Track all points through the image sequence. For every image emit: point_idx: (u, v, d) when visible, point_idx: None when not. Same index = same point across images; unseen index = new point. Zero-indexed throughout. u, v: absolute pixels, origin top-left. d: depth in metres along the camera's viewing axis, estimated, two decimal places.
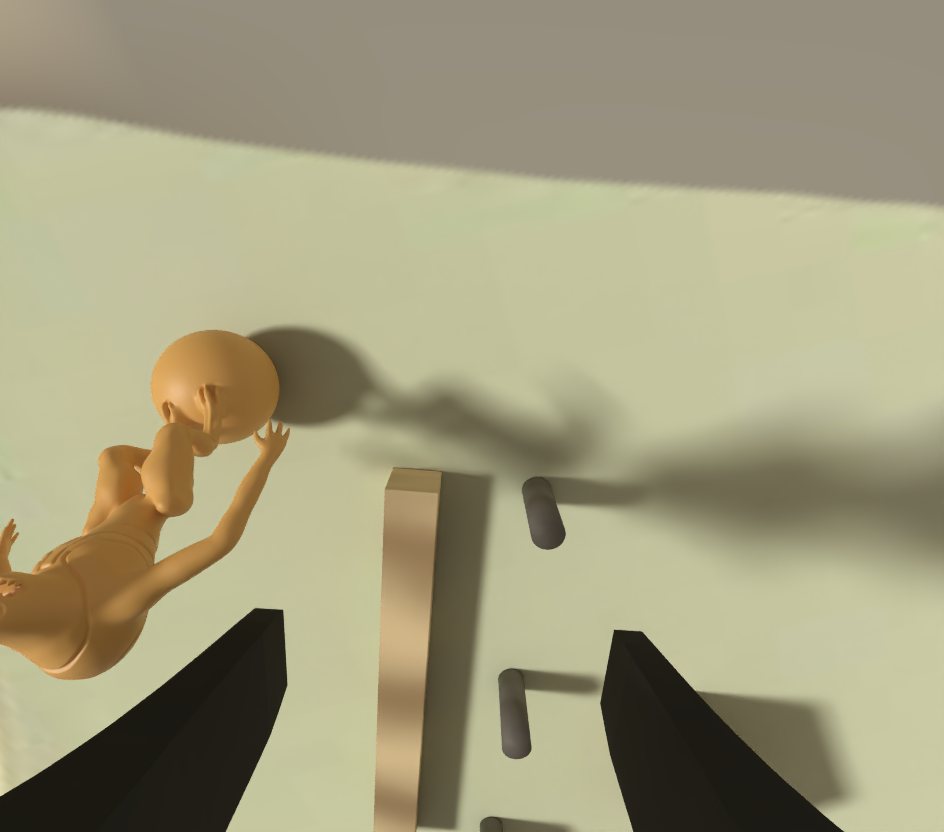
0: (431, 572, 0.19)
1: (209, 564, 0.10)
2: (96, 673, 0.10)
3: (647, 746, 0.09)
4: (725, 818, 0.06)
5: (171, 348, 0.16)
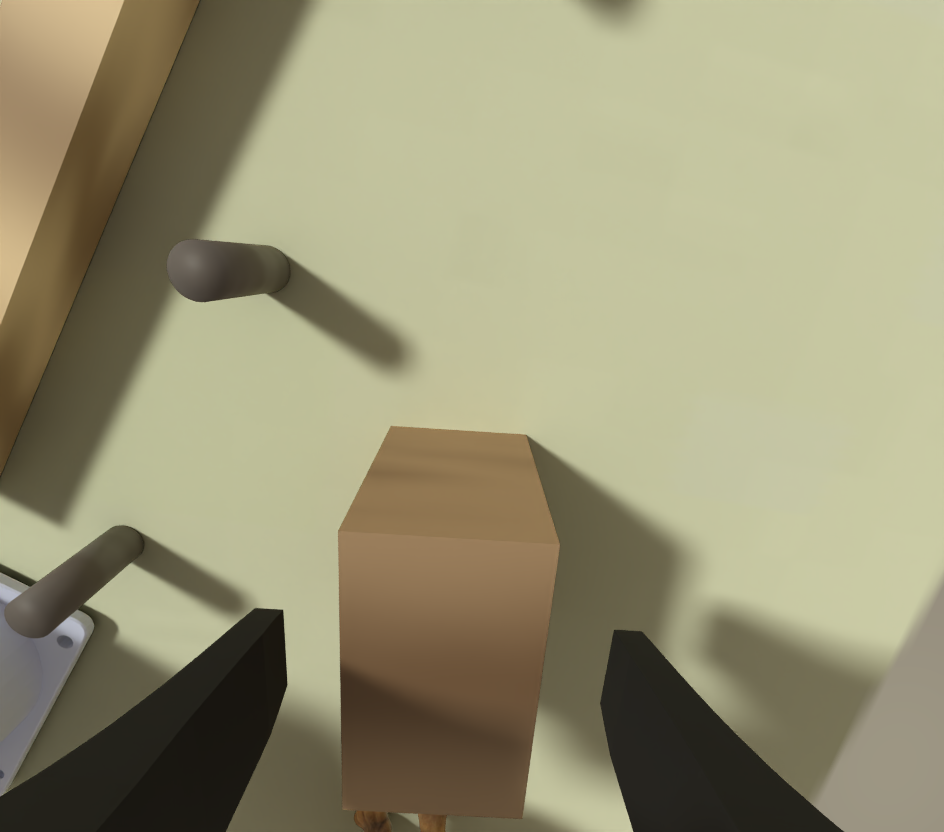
0: None
1: None
2: None
3: (647, 746, 0.09)
4: (725, 818, 0.06)
5: None
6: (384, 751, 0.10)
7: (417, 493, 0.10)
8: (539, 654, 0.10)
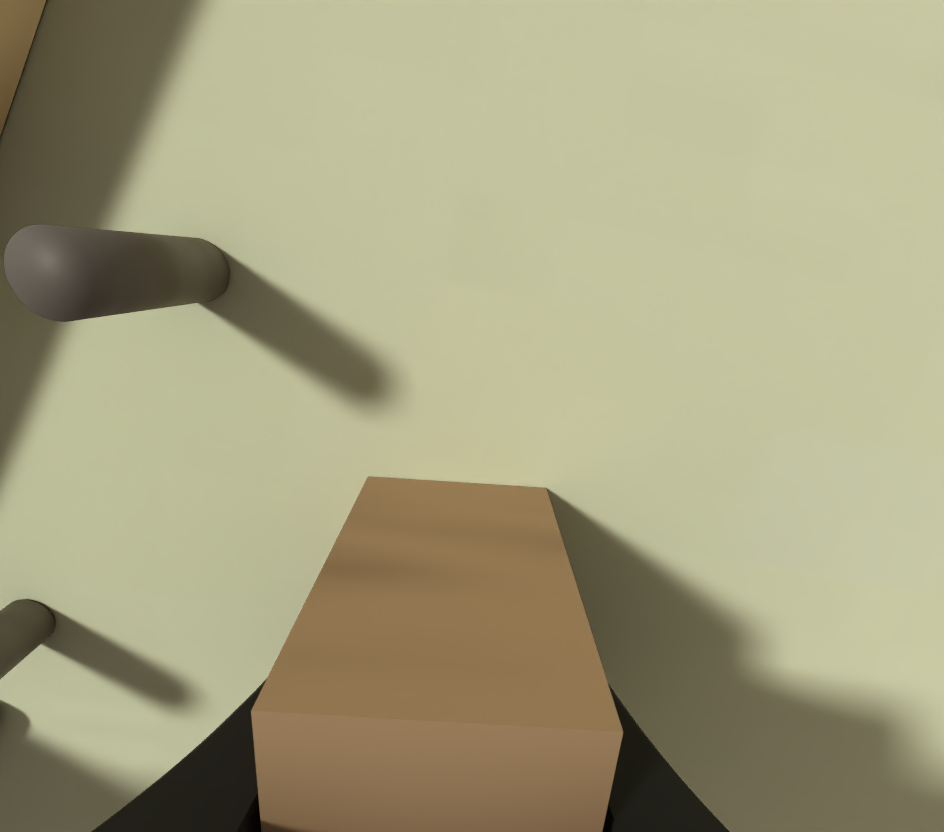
0: None
1: None
2: None
3: None
4: (608, 812, 0.06)
5: None
6: None
7: (393, 611, 0.07)
8: None
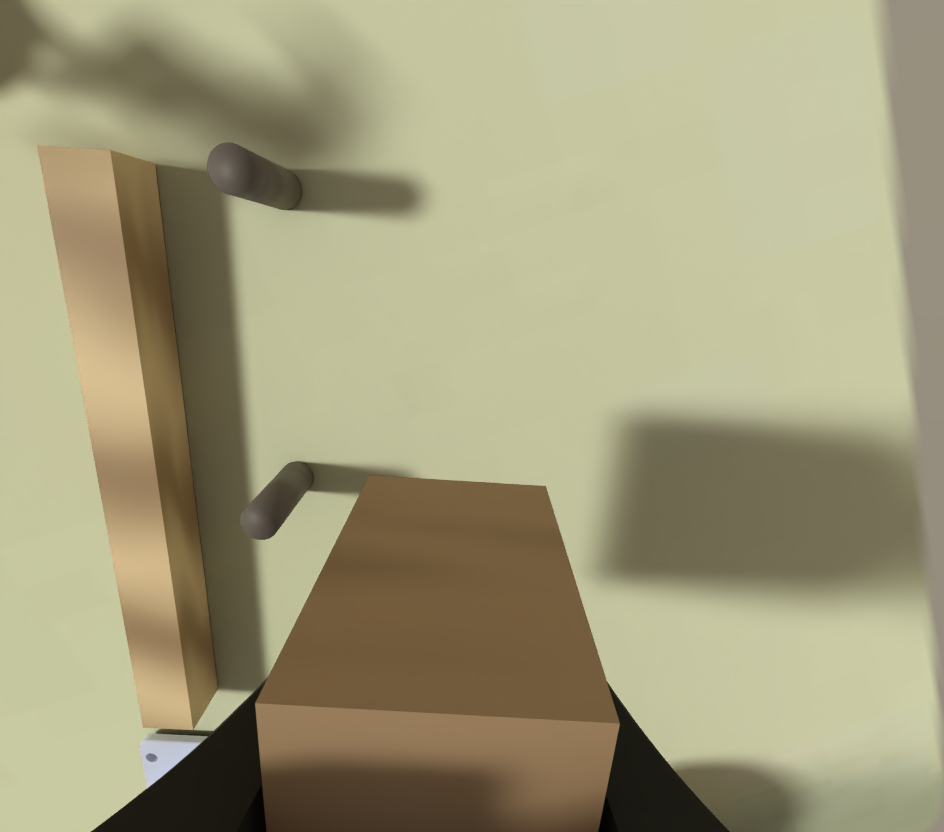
0: (127, 279, 0.15)
1: None
2: None
3: None
4: (608, 812, 0.06)
5: None
6: None
7: (393, 606, 0.07)
8: None
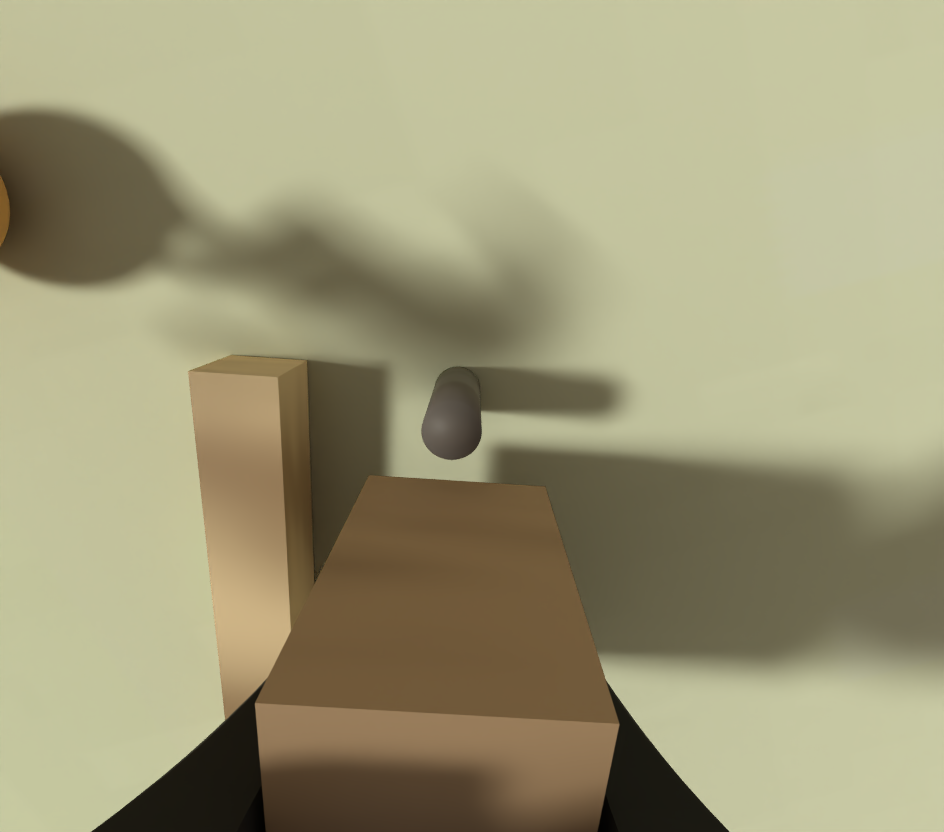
0: (282, 514, 0.12)
1: None
2: None
3: None
4: (608, 812, 0.06)
5: None
6: None
7: (393, 606, 0.07)
8: None
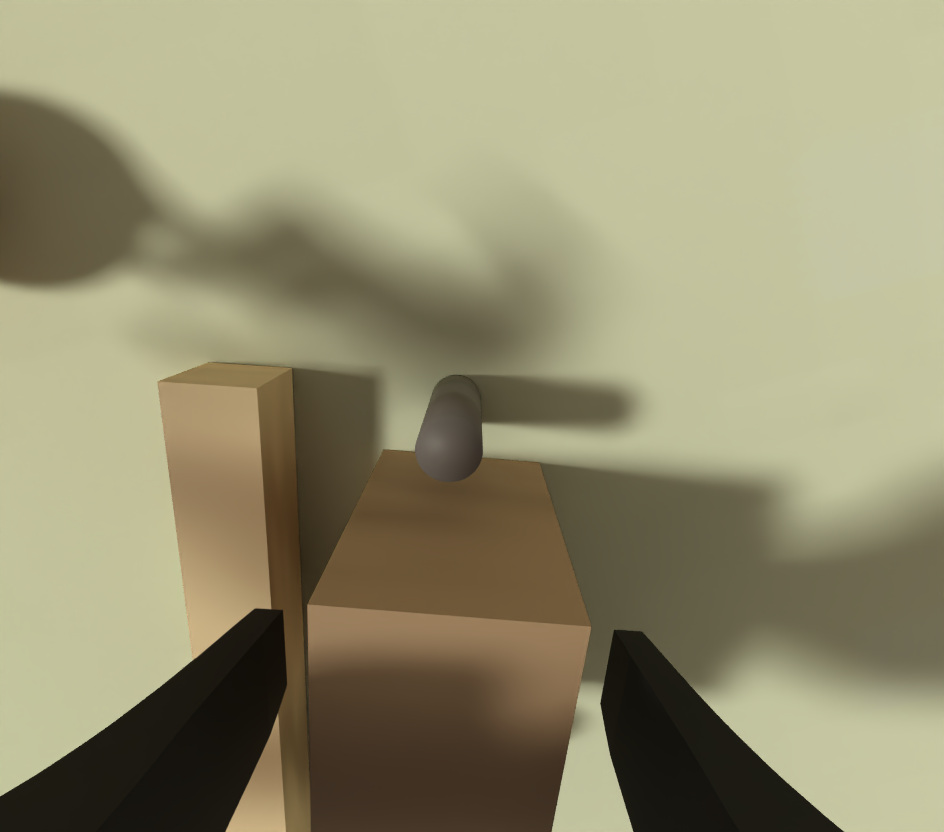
0: (264, 538, 0.11)
1: None
2: None
3: (647, 746, 0.09)
4: (725, 818, 0.06)
5: None
6: None
7: (411, 545, 0.08)
8: (559, 755, 0.08)
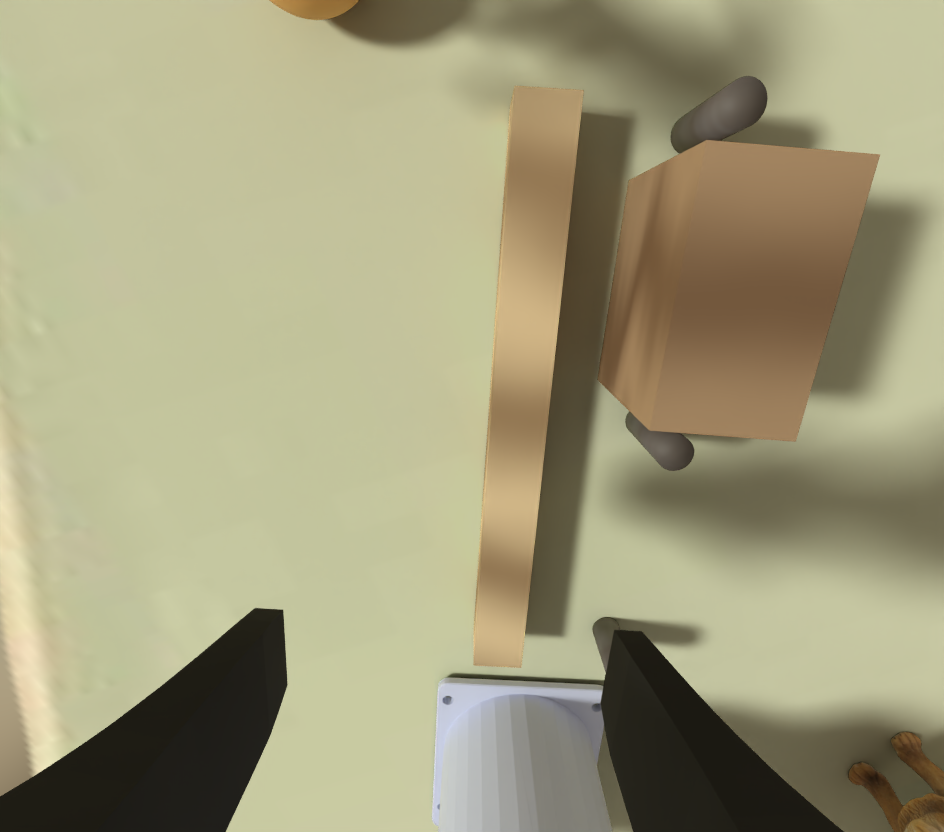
0: (568, 218, 0.15)
1: None
2: None
3: (647, 746, 0.09)
4: (725, 819, 0.06)
5: None
6: (697, 367, 0.13)
7: None
8: (842, 267, 0.12)
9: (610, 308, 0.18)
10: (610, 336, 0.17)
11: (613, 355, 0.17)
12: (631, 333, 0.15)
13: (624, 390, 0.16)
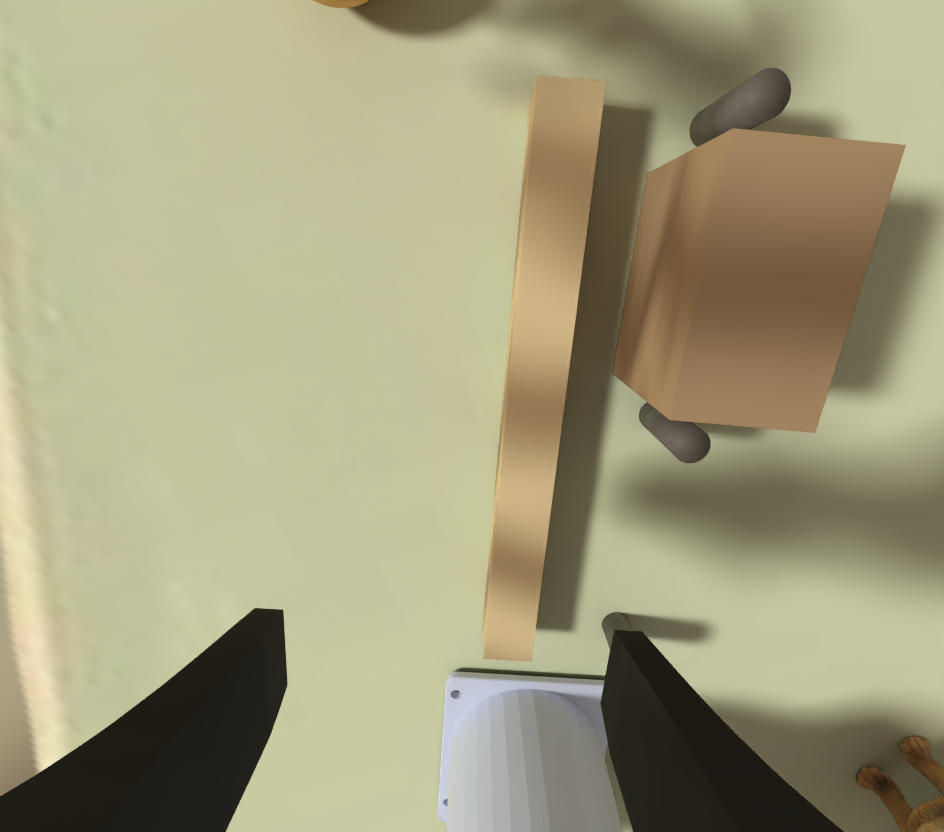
0: (587, 209, 0.15)
1: None
2: None
3: (647, 746, 0.09)
4: (725, 818, 0.06)
5: None
6: (718, 357, 0.13)
7: None
8: (865, 257, 0.12)
9: (626, 301, 0.18)
10: (626, 329, 0.18)
11: (629, 347, 0.17)
12: (649, 324, 0.15)
13: (641, 382, 0.16)
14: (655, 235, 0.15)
